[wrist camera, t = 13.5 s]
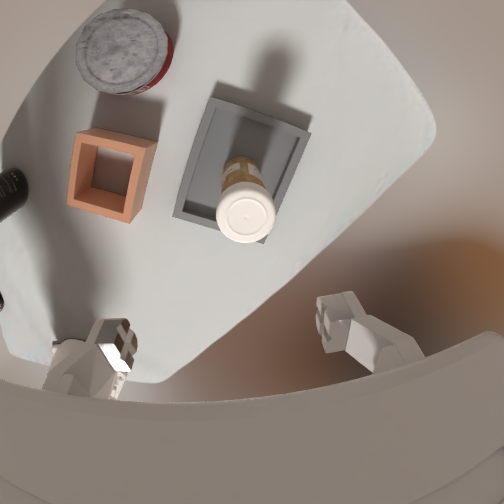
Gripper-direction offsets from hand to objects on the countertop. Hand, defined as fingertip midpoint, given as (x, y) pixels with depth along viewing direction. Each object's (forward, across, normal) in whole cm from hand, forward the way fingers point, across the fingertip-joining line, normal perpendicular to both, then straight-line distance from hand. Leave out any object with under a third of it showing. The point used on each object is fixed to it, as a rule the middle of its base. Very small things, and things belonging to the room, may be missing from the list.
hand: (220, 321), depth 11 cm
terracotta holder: (+25, +14, -3) cm, 29 cm away
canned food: (+25, +9, -17) cm, 32 cm away
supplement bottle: (+26, +33, -5) cm, 42 cm away
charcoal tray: (+25, -2, 0) cm, 25 cm away
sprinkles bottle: (+24, -2, 0) cm, 24 cm away
